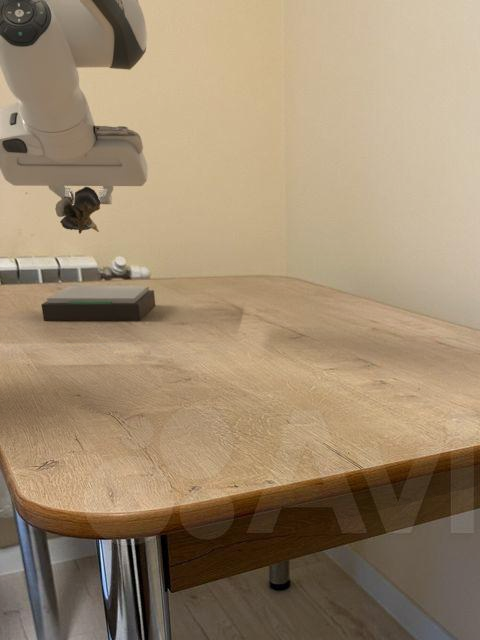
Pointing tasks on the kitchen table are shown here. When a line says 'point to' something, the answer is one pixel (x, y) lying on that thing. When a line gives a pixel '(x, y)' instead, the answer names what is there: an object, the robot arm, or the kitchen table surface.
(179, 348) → the kitchen table surface
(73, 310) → the scale
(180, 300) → the kitchen table surface
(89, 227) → the eagle figurine
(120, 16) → the robot arm
